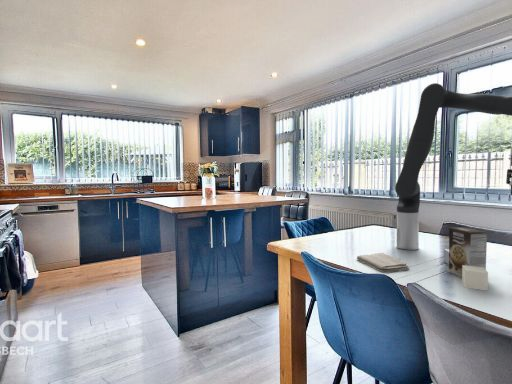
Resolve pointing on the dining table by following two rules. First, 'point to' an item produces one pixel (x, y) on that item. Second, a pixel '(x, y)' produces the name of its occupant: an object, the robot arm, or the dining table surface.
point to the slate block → (446, 256)
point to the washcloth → (383, 262)
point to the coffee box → (466, 248)
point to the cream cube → (475, 277)
